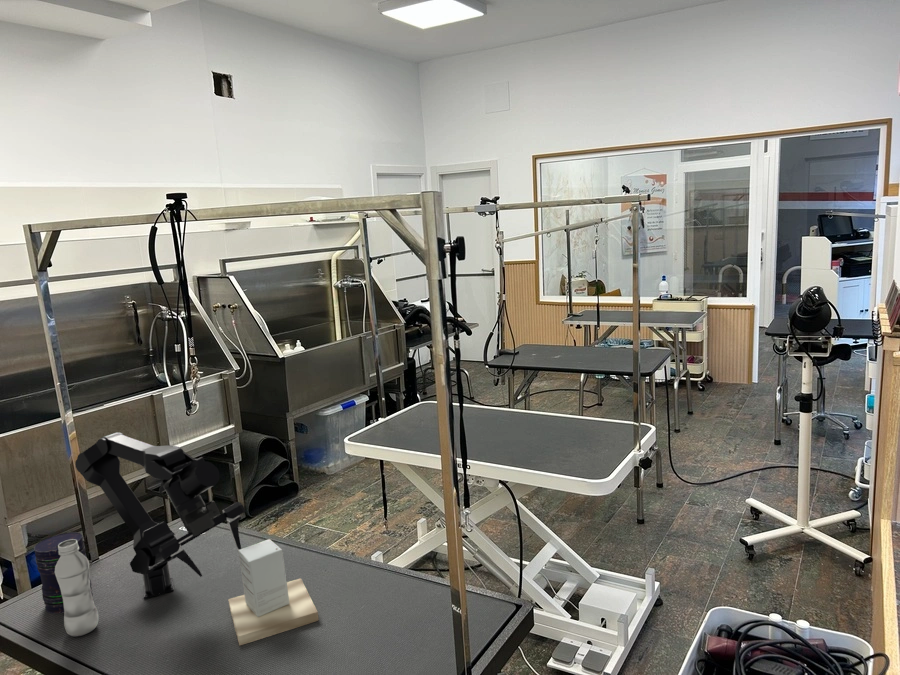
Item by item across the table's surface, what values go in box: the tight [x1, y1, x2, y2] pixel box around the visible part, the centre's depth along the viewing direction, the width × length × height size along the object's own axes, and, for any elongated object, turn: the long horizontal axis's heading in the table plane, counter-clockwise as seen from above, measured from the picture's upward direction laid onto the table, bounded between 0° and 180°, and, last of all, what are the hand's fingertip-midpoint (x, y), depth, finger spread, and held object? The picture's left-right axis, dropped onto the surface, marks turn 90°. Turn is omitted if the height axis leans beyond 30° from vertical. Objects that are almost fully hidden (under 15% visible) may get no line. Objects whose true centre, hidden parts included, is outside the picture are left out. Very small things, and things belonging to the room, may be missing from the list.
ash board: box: [227, 578, 319, 646], centre depth 141 cm, size 16×16×2 cm
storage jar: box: [33, 531, 94, 615], centre depth 152 cm, size 10×10×15 cm
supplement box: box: [237, 538, 290, 617], centre depth 140 cm, size 7×7×13 cm
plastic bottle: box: [55, 539, 99, 637], centre depth 139 cm, size 6×7×20 cm
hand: (221, 564), depth 144 cm, fingers open, 9 cm apart
